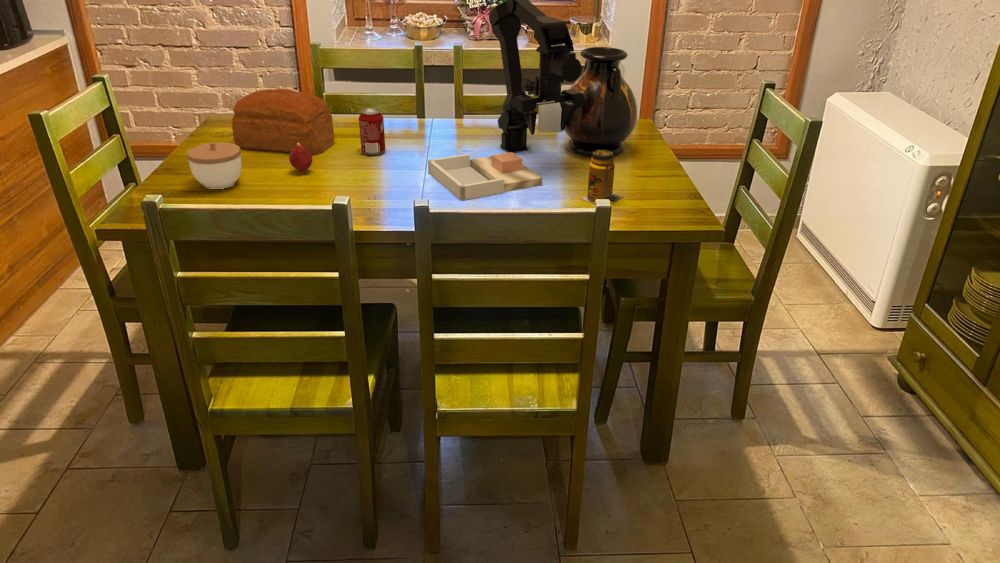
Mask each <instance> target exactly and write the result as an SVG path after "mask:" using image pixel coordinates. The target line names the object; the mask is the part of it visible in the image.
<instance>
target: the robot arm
mask: <svg viewBox="0 0 1000 563" xmlns="http://www.w3.org/2000/svg"><path fill="white" fill-rule="evenodd" d="M488 21H489V24H490V26H491V33H492V34H493V35H494V37H495V38H496V39H497V40H498V42H499V46H500V54H501V60H502V62H501V63H502V66H503V67H502V68H503V75H504V82H505V89H506V97H505V99H504V100H503V101H504V102H503V103H502V110H503V111H502V113H501V114H500V116H499V118H497V126H498V128H499V129H501V130H502V132H501V144H500V145H499V147H500V148H502V149H503V150H504V151H505V152H507V153H509V152H512V153H518V152H523V151H529V150H530V147H528V146H527V143H528V141H527V140H528V139H527V138H528V130H529V134H530V135H531V136H534V134H535V132H536V124H537V122H536V121H537V117H538V116H537V115H538V112H537V111H536V109H537V106H539V105H544V104H551V103H559V102H560V106H561V117H560V131H565V130H564V129H565V127H566V125H567V123H568V122H569V120H570V118H571V116H572V115H573V114H574V112H575V111H576V109H577V108H579V107H580V105H581V104H584V95H583V93H581V92H579V91H577V90H575V89H570V88H569V89H563V90H561V86H562V83H564V82H568V83H573V82H576V81H577V80H578V79H579V78H580V77H581V76H582V75H581V74H582V71H583V67H582V63H581V62H580V60H579V59H578V58H576V55H577V54H576V52H574V51H575V48H574V42H573V39H572V38H571V35H570V30H569V28H568V25H567V23H566V22H565V21H563V20H562V19H559V18H556V17H551V16H548V15H547V14H545V13H544V12H543V11H542V10H541V9H539V7H537V6H535V4H534V3H532V2H531V1H530V0H505V1H504V2H502V3H499V4H498V5H495V6H494V7H492V9H491V10H490V11H489V14H488ZM522 22H523V23H524V24H525V25H526V26H528V27H529V28H530V29H531V31H533V38H534V40H535V41H536V42H537V43H538V45H539V46H537V48H536V49H535V51H536V52H538V53H539V66H538V74H537V75H535V80H534V81H532V80H531V78H524V79H523V73H522V72H523V71H522V66H521V58H520V50H519V43H518V37H519V34H520V33H521V29H522ZM526 92H527V93H526ZM532 95H533V96H534V97H532ZM543 100H546V101H543Z"/></svg>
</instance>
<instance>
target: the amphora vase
mask: <svg viewBox="0 0 1000 563" xmlns="http://www.w3.org/2000/svg"><path fill="white" fill-rule="evenodd" d="M579 54H580V56H581V57H582V58H583V59H585V61H584V68H583V74H582V75H580V76H579V78H578V79H577V80H575V81H574V83H572V85H571V86H570V87H569V89H575V90H577V91H579V92H581V93H583V95H584V104H581V105H580V107H579V108H577V109H576V111H575V112H574V114H573V115H572V116H571V118H570V120H569V122H568V123H567V125H566V127H565V129H564V130H563V131H564V133H565V134H566V135H567V136H568V137H569V138H570V139H569V141H568V143H567V148H568V149H569V150H570V151H571V152H573V153H574V154H575V155H578V156H582V157H585V158H592V153H593V152H594V151H596V150H608V151H611V152H612V153H613V154H614V157H617V156H619V155H620V154H622V153H623V152H624V151H625V149H626V146H625V142H624V141H626V139H628V138H629V137H630V136H631V134H632V133H633V131H634V129H635V128H636V125H637V121H638V105H637V101H636V97H635V94H634V92H633V90H632V87H630V85H629V84H628V83H627V81H626V80H625V79H624V77H623V76H622V74H621V72H622V71H621V69H620V63H621V61H623V60H626V59H627V58H628V56H629V54H628V53H627V51H625V50H623V49H621V48H616V47H609V46H608V47H605V46H593V47H587V48H584V49H582V50H581V51H580V53H579Z"/></svg>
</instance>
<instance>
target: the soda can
mask: <svg viewBox="0 0 1000 563" xmlns="http://www.w3.org/2000/svg"><path fill="white" fill-rule="evenodd" d="M384 120H385V119H384V115H383V114H382V113H381V109H380V108H376V107H375V108H372V107H370V108H363V109H361V110H360V114H359V116H358V126H359V138H360V150H361V152H362V153H363V154H365V155H366V156H378V155H381V154H384V152H386V139H385V138H386V136H385V124H384V123H385V122H384Z"/></svg>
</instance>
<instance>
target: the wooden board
mask: <svg viewBox="0 0 1000 563" xmlns="http://www.w3.org/2000/svg"><path fill="white" fill-rule="evenodd" d="M470 167H472V168H473V169H474V170H476V171H477V172H478V173H480V174H481V175H482V176H484V177H485V178H486V179H488V180H495V179H501V178H503V179H504V193H506V192H510V191H511V192H512V191H515V190H522V189H527V188H532V187H538V186H542V185H543V177H542V176H541V175H539V174H538V173H537V172H534V171H533V170H532V169H530V168H528V167H527V166H526V165H524V164H522V170H519V171H513V172H507V173H501V172H499V171H498V170H496V169H495V168H494V167H492V155H491V156H489V155H488V156H485V157H478V158H470Z"/></svg>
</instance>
